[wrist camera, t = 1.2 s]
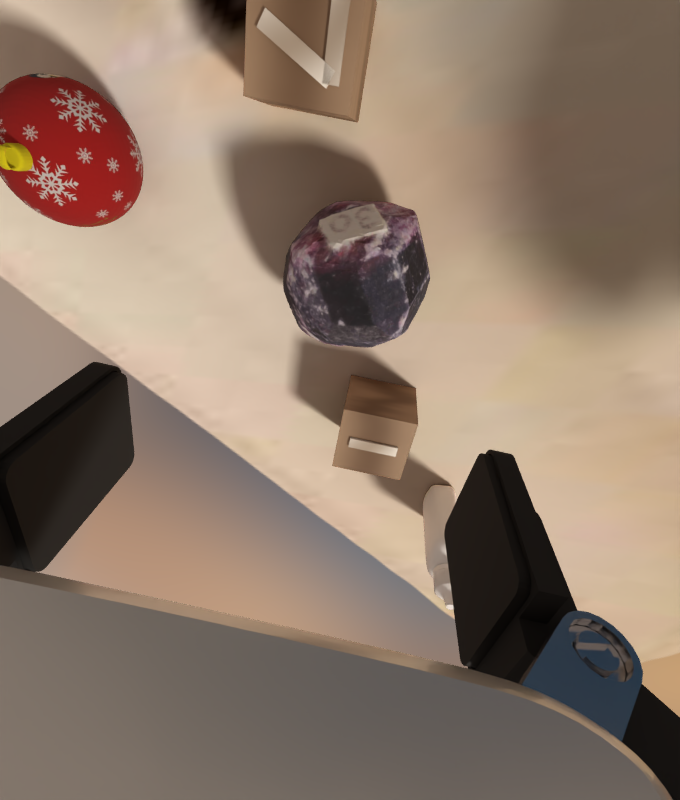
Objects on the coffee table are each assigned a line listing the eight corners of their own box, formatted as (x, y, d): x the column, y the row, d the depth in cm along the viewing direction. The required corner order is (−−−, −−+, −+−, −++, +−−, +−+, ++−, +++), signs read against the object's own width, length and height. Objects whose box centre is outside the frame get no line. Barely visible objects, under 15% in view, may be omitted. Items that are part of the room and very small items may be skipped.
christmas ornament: (63, 204, 33) (-52, 223, 25) (43, 71, 29) (-107, 38, 20) (167, 228, 33) (87, 255, 25) (163, 98, 29) (63, 76, 20)
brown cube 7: (376, 4, 25) (370, -36, 20) (358, 122, 28) (348, 115, 23) (279, -15, 25) (247, -59, 20) (271, 105, 28) (242, 95, 23)
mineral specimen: (469, 222, 29) (449, 315, 23) (391, 313, 37) (362, 399, 31) (347, 138, 27) (293, 217, 21) (294, 254, 35) (244, 334, 29)
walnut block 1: (415, 387, 38) (418, 426, 33) (400, 439, 41) (399, 481, 36) (351, 374, 38) (343, 410, 33) (340, 426, 41) (331, 467, 36)
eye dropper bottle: (472, 496, 43) (494, 601, 33) (439, 525, 46) (450, 631, 36) (438, 477, 43) (450, 579, 33) (407, 508, 46) (408, 612, 35)
